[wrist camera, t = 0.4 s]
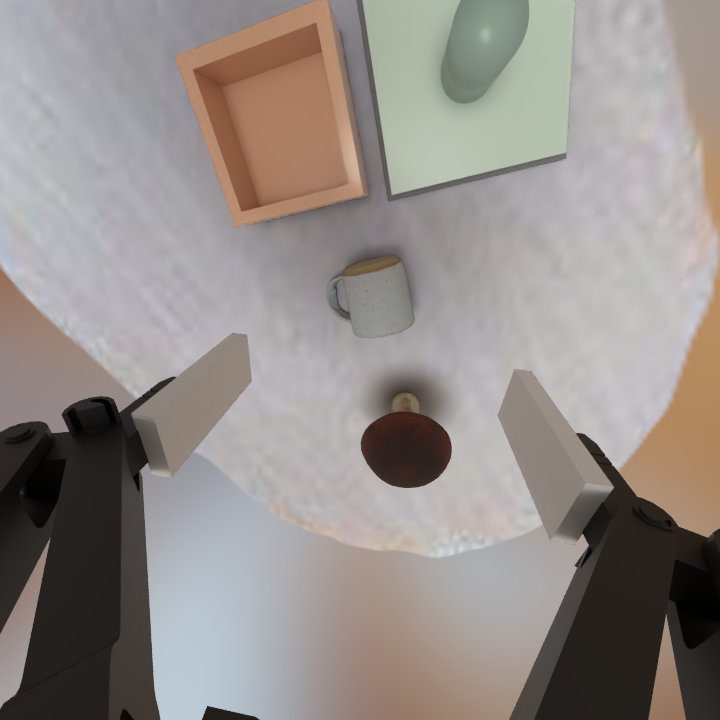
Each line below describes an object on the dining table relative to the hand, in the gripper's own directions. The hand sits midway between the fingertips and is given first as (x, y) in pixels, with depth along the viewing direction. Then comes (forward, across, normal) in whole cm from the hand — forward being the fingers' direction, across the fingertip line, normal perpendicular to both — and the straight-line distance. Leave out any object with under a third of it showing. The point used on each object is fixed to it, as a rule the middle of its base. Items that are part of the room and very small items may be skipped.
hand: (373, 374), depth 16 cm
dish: (+27, -12, +12) cm, 32 cm away
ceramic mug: (+27, -2, -4) cm, 27 cm away
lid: (+26, +5, +18) cm, 32 cm away
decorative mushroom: (+26, +4, -19) cm, 33 cm away
